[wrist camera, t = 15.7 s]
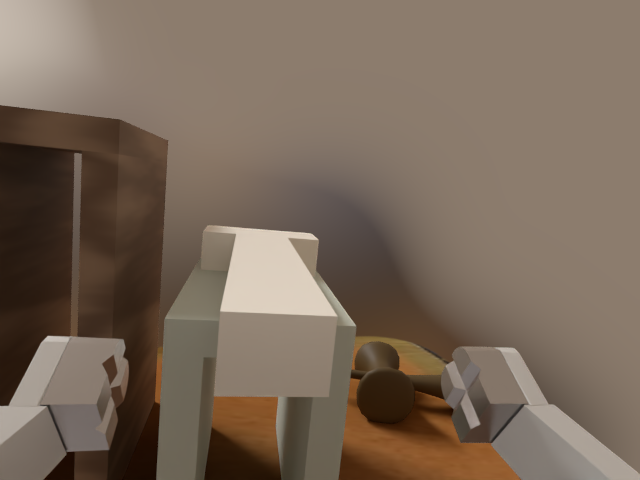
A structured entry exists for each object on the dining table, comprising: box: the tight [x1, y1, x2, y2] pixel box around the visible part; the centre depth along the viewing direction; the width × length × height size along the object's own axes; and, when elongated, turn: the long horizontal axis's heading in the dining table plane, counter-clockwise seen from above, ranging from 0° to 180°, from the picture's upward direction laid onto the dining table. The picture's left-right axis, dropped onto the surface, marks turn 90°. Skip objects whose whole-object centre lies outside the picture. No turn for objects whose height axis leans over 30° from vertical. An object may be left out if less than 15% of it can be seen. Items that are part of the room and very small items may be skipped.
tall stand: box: [0, 105, 168, 480], centre depth 33 cm, size 10×15×26 cm, turn 10°
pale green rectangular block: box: [156, 258, 356, 480], centre depth 31 cm, size 10×16×16 cm, turn 10°
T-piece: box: [201, 225, 338, 397], centre depth 26 cm, size 9×23×3 cm, turn 10°
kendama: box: [350, 342, 445, 423], centre depth 47 cm, size 6×10×20 cm
